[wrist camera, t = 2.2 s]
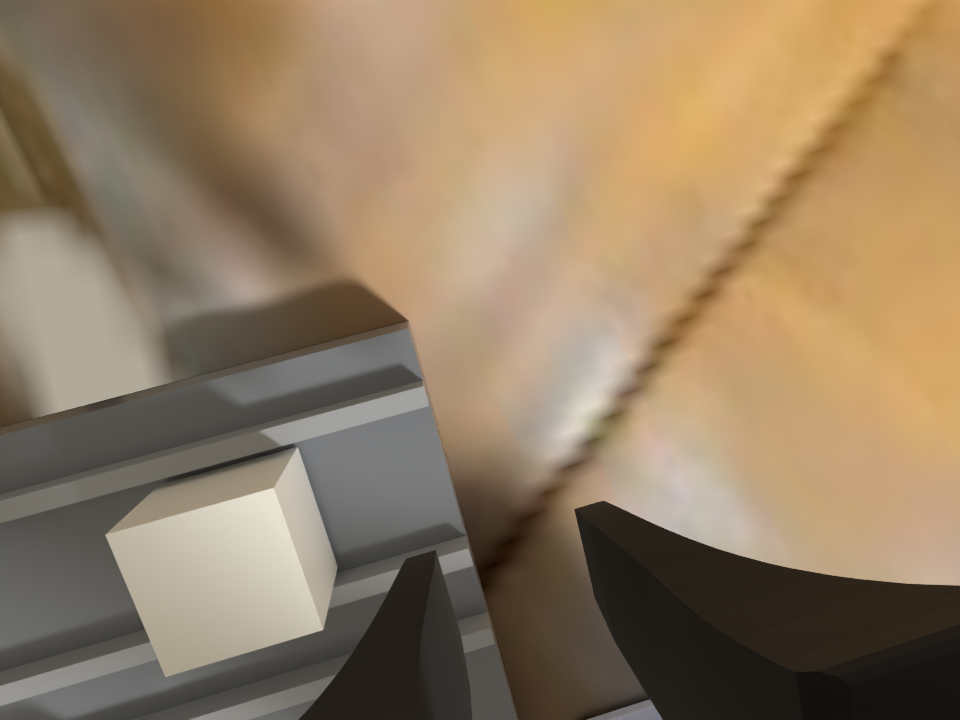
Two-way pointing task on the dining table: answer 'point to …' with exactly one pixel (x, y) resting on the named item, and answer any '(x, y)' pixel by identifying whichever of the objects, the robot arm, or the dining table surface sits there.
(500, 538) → the dining table surface
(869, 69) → the dining table surface
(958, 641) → the robot arm
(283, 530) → the switch tab
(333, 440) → the switch board
